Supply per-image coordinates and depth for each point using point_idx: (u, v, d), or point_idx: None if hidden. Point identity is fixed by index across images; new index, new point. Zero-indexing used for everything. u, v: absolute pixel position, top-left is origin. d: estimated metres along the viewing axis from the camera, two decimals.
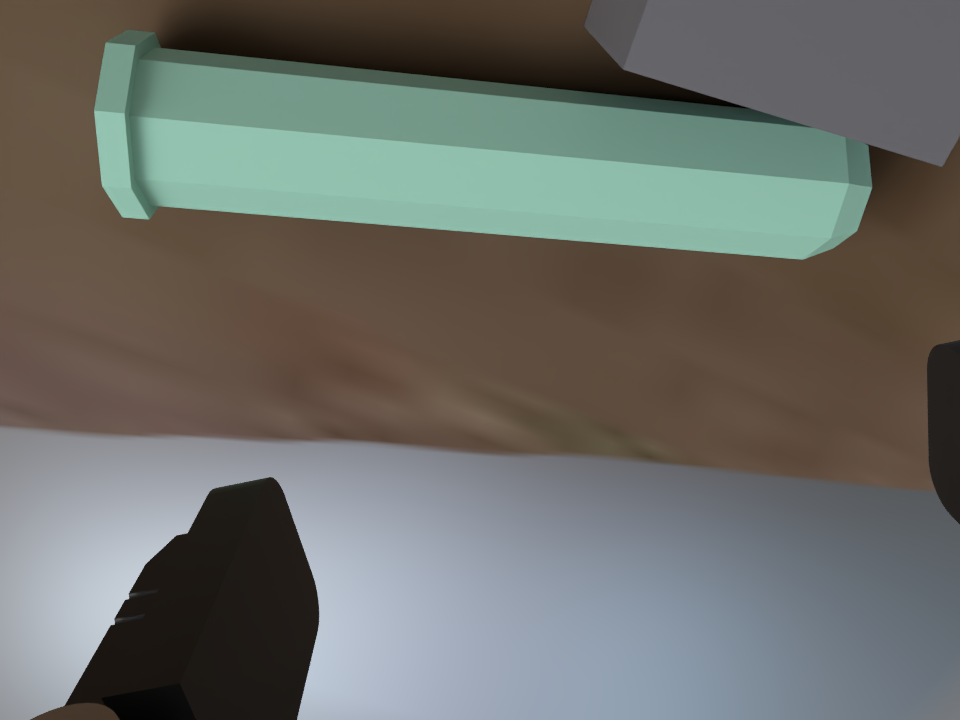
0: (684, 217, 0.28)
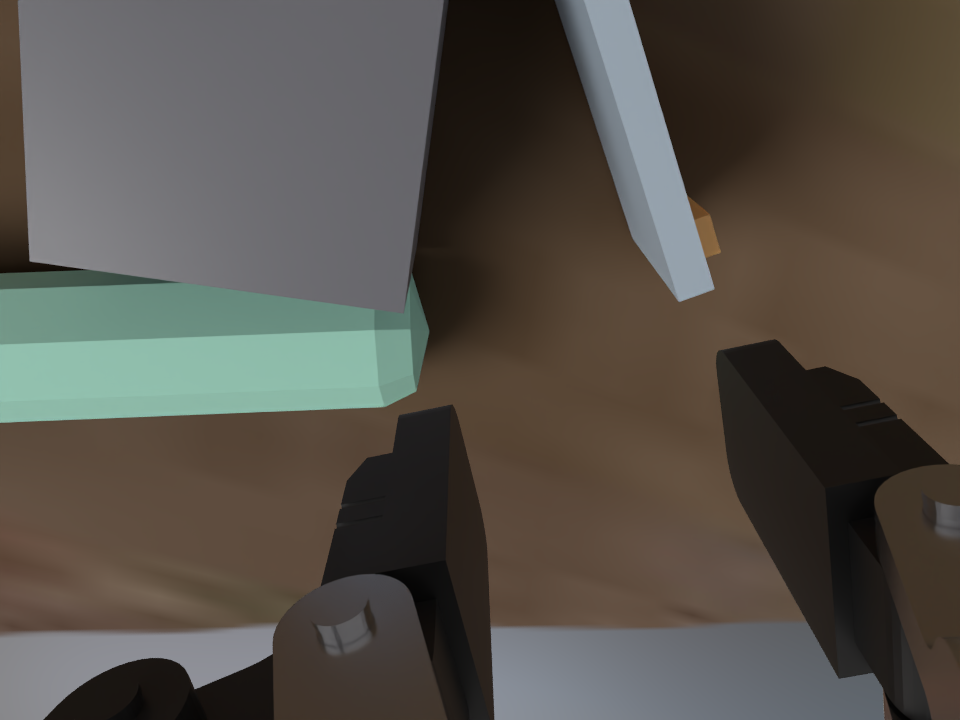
0: (214, 384, 0.27)
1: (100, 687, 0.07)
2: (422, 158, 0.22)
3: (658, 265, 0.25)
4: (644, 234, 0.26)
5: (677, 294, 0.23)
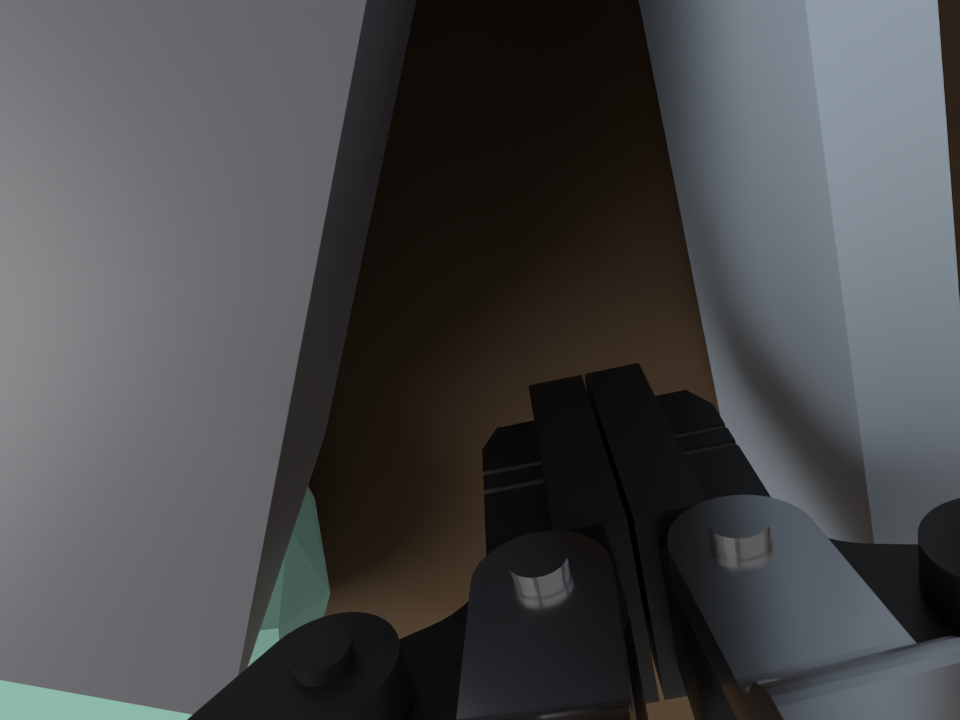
0: None
1: (316, 634, 0.07)
2: (290, 386, 0.08)
3: None
4: None
5: None
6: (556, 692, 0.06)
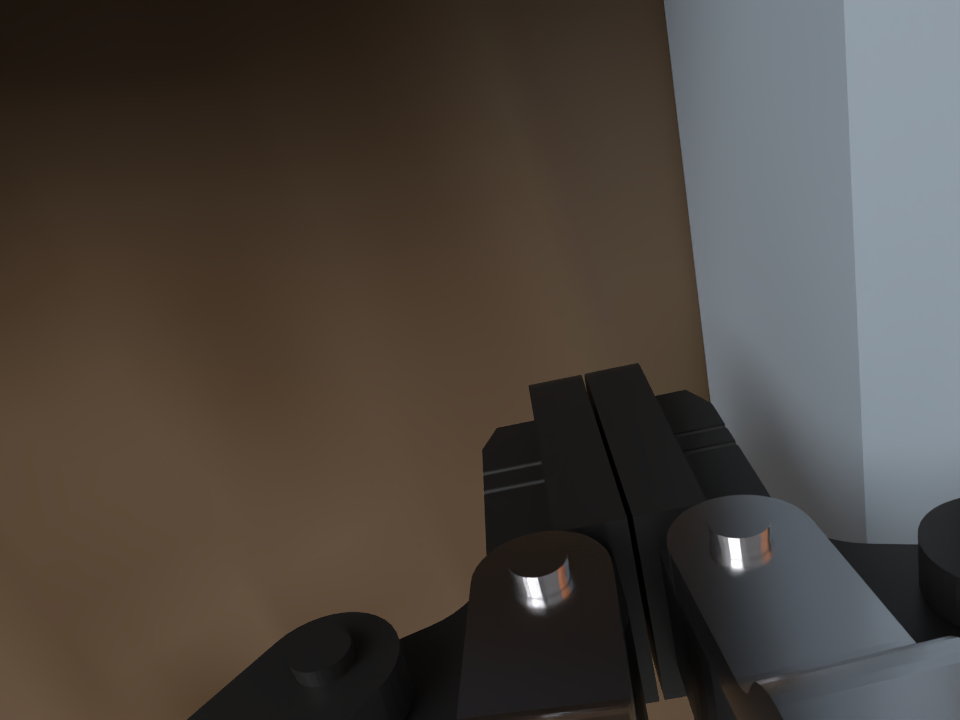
0: None
1: (316, 635, 0.07)
2: None
3: None
4: None
5: None
6: (556, 691, 0.06)
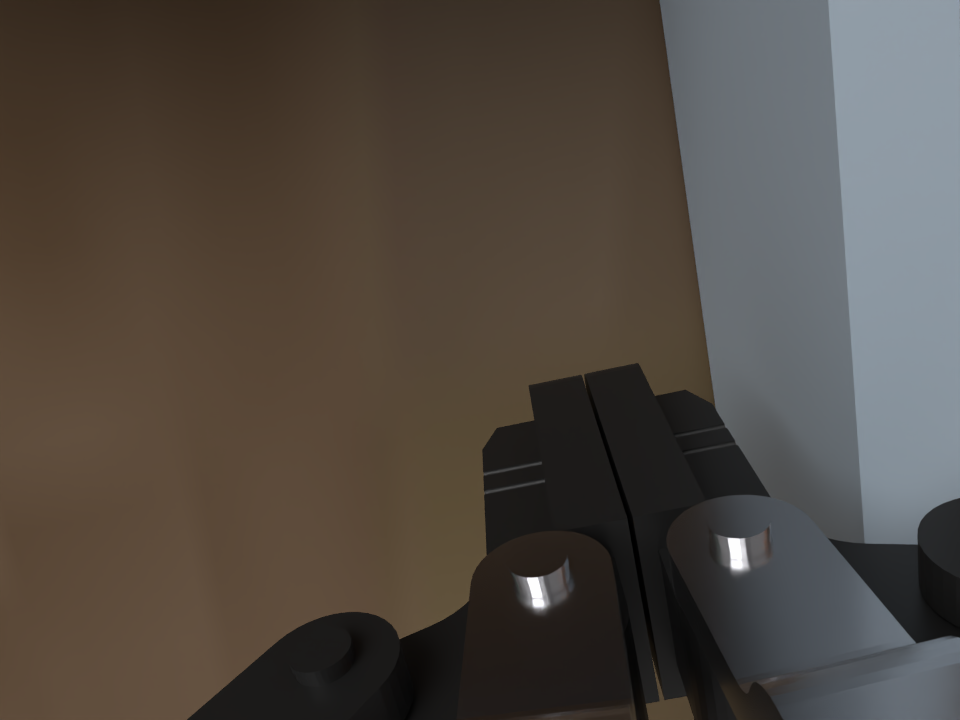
0: None
1: (317, 636, 0.07)
2: None
3: None
4: None
5: None
6: (557, 692, 0.06)
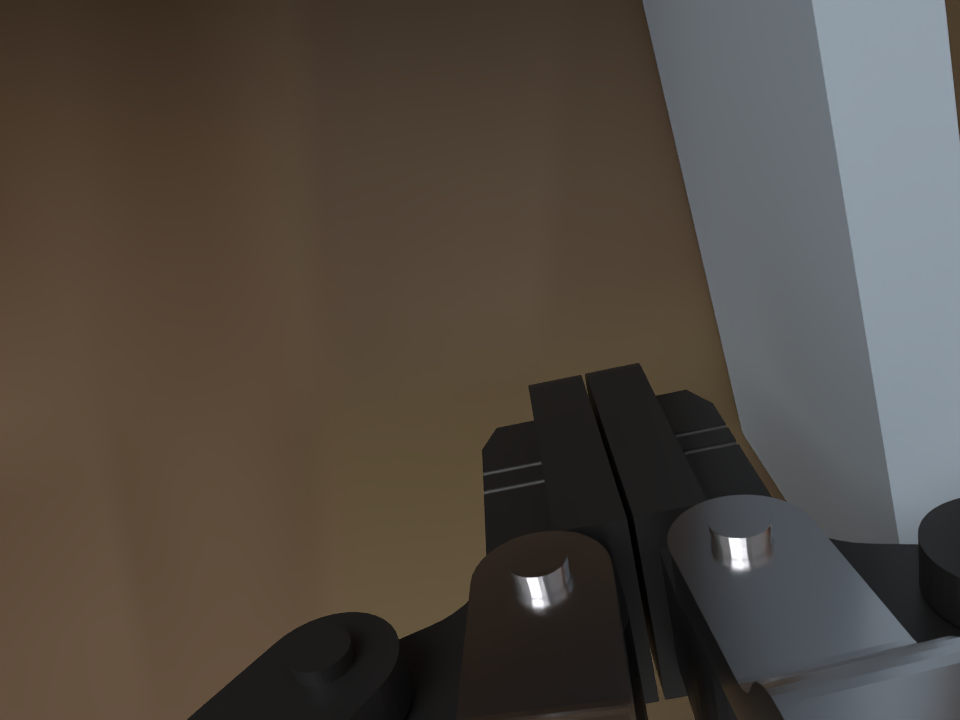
0: None
1: (316, 635, 0.07)
2: None
3: None
4: (809, 489, 0.12)
5: None
6: (556, 692, 0.06)
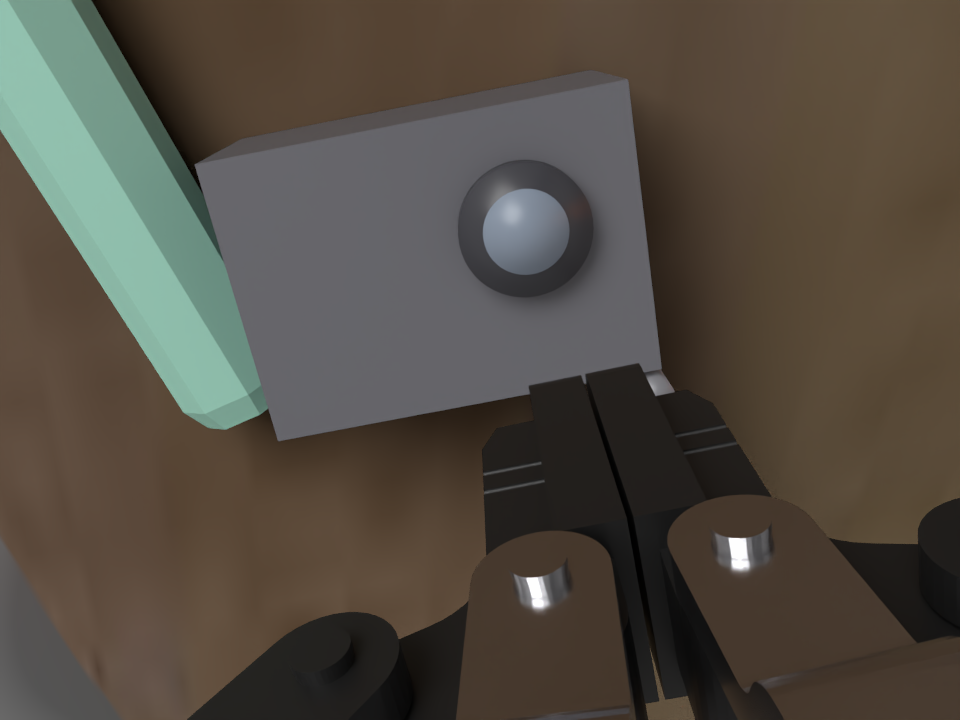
0: (138, 295, 0.31)
1: (316, 635, 0.07)
2: (393, 418, 0.31)
3: None
4: None
5: None
6: (557, 692, 0.06)
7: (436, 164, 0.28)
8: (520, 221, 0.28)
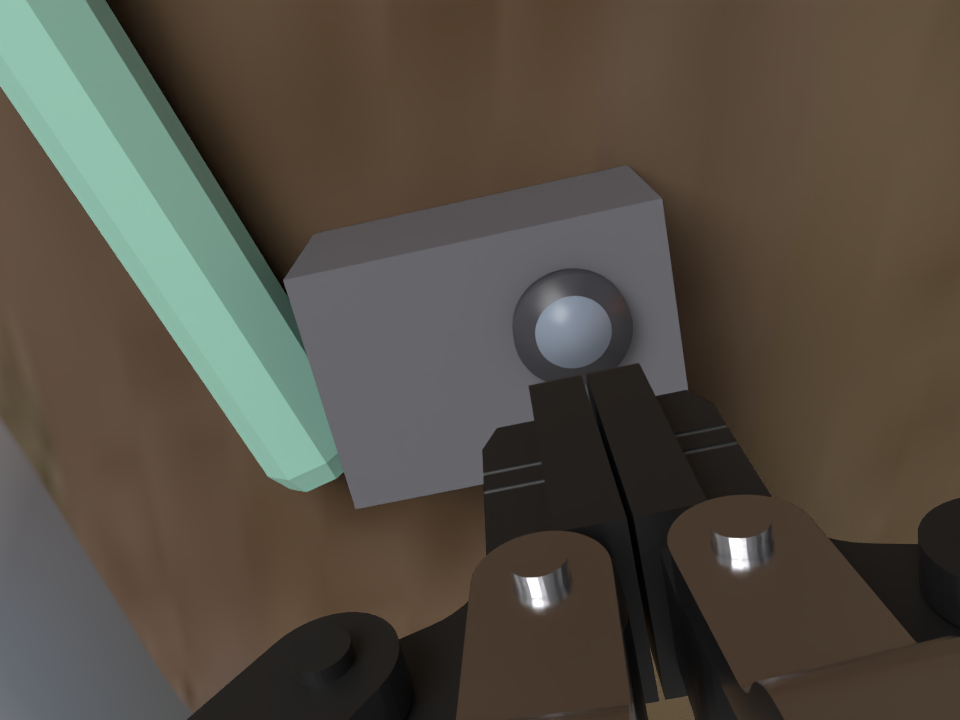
0: (229, 381, 0.36)
1: (315, 636, 0.07)
2: (456, 488, 0.35)
3: None
4: None
5: None
6: (556, 692, 0.06)
7: (493, 274, 0.32)
8: (568, 323, 0.31)
